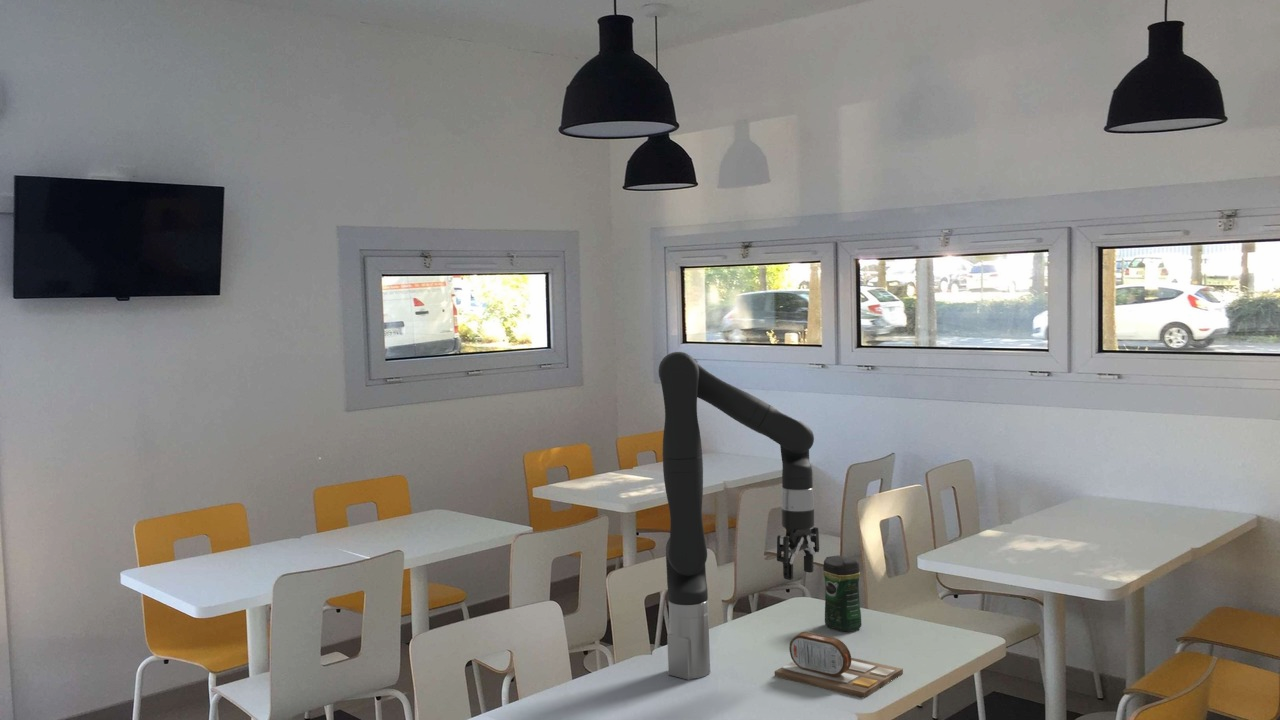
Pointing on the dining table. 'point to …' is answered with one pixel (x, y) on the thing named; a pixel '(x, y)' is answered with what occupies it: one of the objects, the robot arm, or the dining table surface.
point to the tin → (820, 654)
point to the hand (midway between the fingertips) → (798, 575)
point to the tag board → (845, 677)
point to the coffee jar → (842, 593)
